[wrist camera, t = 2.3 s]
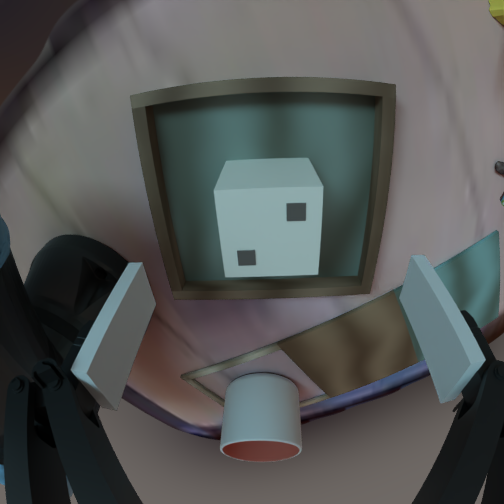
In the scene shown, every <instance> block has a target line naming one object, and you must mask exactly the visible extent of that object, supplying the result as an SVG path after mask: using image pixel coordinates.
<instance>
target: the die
mask: <svg viewBox="0 0 504 504" xmlns="http://www.w3.org/2000/svg"><path fill="white" fill-rule="evenodd" d="M214 198H215V206H216V214H217V221H218V229H219V236H220V244H221V251H222V258H223V265H224V272H225V277H263V276H294V275H318V268H319V256H320V242H321V226H322V208H323V185H322V183H321V181H320V179H319V177H318V175H317V173H316V171H315V169H314V167H313V166H312V164H311V162H310V160H309V158H272V159H248V160H231V161H226V162H225V165H224V167H223V169H222V172H221V174H220V176H219V179H218V181H217V184H216V186H215V188H214Z"/></svg>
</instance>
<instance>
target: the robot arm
mask: <svg viewBox="0 0 504 504" xmlns="http://www.w3.org/2000/svg"><path fill="white" fill-rule="evenodd" d="M399 299H400V301H401V303H402V305H403V307H404V310H405V312H406V314H407V316H408V319H409V321H410V323H411V326H412V328H413V330H414V333H415V335H416V338H417V340H418V343H419V345H420V348H421V350H422V353H423V355H424V358H425V360H426V363H427V366H428V368H429V371H430V374H431V377H432V380H433V382H434V385H435V388H436V391H437V394H438V397H439V400H440V403H444V402H448V401H451V400H455V399H456V397H457V396H458V395H459V394H460V393H461V392H462V395H463V399H462V400H461V401H460V402H459V403H458V404H457V406H456V407H455V408H454V409H453V412H455V411H456V410H457V409H458V410H457V413H456V415H455V418H454V421H453V423H452V426H451V428H450V431H449V433H448V435H447V438H446V440H445V442H444V444H443V446H442V449H441V451H440V453H439V455H438V457H437V459H436V461H435V463H434V465H433V467H432V469H431V471H430V473H429V475H428V476H427V478H426V480H425V482H424V484H423V486H422V487H421V489H420V491H419V493H418V494H417V496H416V498H415V499H414V501H413V502H412V504H475V501H476V499H477V497H478V495H479V492H480V490H481V488H482V486H483V483H484V481H485V478H486V476H487V479H486V484H485V489H484V494H483V498H482V502H481V504H504V362H503V361H499V360H496V359H495V357H494V355H493V353H492V351H491V349H490V347H489V345H488V343H487V341H486V339H485V337H484V336H483V335H482V332H481V330H480V328H478V325H477V323H476V321H475V320H474V318H473V317H472V316H471V315H470V314H469V313H468V312H467V311H466V310H462V311H460V310H459V309H458V307H457V305H456V304H455V302H454V300H453V299H452V297H451V295H450V294H449V292H448V290H447V289H446V287H445V286H444V284H443V282H442V281H441V279H440V278H439V276H438V275H437V273H436V272H435V270H434V269H433V267H432V266H431V264H430V263H429V261H428V260H427V258H426V257H425V255H411V259H410V263H409V267H408V270H407V274H406V277H405V281H404V284H403V287H402V291H401V294H400V297H399ZM155 306H156V302H155V299H154V296H153V293H152V290H151V287H150V284H149V281H148V278H147V275H146V272H145V269H144V266H143V263H142V262H140V263H128V262H127V261H126V260H124V259H123V258H122V257H121V256H120V255H119V254H117V253H116V252H115V251H113V250H112V249H110V248H109V247H107V246H105V245H104V244H102V243H100V242H98V241H96V240H93V239H90V238H87V237H84V236H79V235H62V236H58V237H55V238H53V239H52V240H50V241H49V242H48V243H47V244H46V245H45V246H44V247H43V248H42V249H41V250H40V251H39V252H38V253H37V255H36V256H35V258H34V259H33V261H32V264H31V267H30V271H29V273H28V276H27V278H26V281H25V283H24V284H23V282H22V279H21V277H20V274H19V271H18V269H17V266H16V263H15V260H14V257H13V254H12V252H11V248H10V235H9V230H8V227H7V225H6V223H5V222H4V220H3V219H2V218H1V215H0V483H1V484H3V485H5V491H6V500H7V504H71V502H70V497H71V496H72V494H73V493H74V495H75V498H76V500H77V502H78V504H143V503H142V501H141V500H140V498H139V496H138V495H137V493H136V491H135V490H134V488H133V486H132V485H131V483H130V481H129V479H128V478H127V475H126V474H125V472H124V470H123V468H122V466H121V464H120V462H119V460H118V459H117V456H116V454H115V452H114V450H113V448H112V446H111V444H110V442H109V439H108V437H107V435H106V433H105V430H104V428H103V426H102V423H101V421H100V419H99V416H98V411H99V408H100V406H101V407H103V408H107V409H112V410H116V411H117V409H118V406H119V403H120V400H121V397H122V394H123V391H124V388H125V385H126V382H127V380H128V377H129V374H130V371H131V368H132V366H133V363H134V360H135V357H136V355H137V352H138V349H139V347H140V344H141V341H142V339H143V336H144V335H145V332H146V330H147V327H148V324H149V322H150V319H151V316H152V313H153V311H154V308H155Z"/></svg>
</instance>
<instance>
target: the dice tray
mask: <svg viewBox="0 0 504 504" xmlns="http://www.w3.org/2000/svg"><path fill="white" fill-rule="evenodd" d="M130 98H131V106H132V113H133V120H134V126H135V132H136V138H137V144H138V150H139V156H140V161H141V166H142V171H143V176H144V181H145V186H146V191H147V196H148V200H149V205H150V209H151V214H152V218H153V222H154V226H155V231H156V235H157V239H158V243H159V247H160V250H161V254H162V258H163V262H164V266H165V269H166V273H167V276H168V280H169V283H170V287H171V290H172V294H173V297H174V299H176V300H216V299H270V298H299V297H321V296H340V295H356V294H370V290H371V286H372V281H373V277H374V272H375V268H376V263H377V258H378V253H379V248H380V242H381V237H382V231H383V225H384V219H385V213H386V206H387V199H388V191H389V183H390V175H391V165H392V155H393V143H394V128H395V106H396V85H395V84H388V83H381V82H372V81H363V80H352V79H338V78H318V77H268V78H248V79H234V80H223V81H213V82H204V83H197V84H189V85H183V86H176V87H170V88H165V89H159V90H154V91H149V92H144V93H140V94H135V95H131V96H130ZM272 158H309V160H310V162H311V164H312V166H313V167H314V169H315V171H316V173H317V175H318V177H319V179H320V181H321V183H322V185H323V208H322V226H321V242H320V256H319V268H318V275H294V276H263V277H225V272H224V265H223V258H222V251H221V244H220V236H219V229H218V221H217V214H216V206H215V198H214V188H215V186H216V184H217V181H218V179H219V176H220V174H221V172H222V169H223V167H224V165H225V162H226V161H231V160H248V159H272Z"/></svg>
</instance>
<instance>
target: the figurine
mask: <svg viewBox="0 0 504 504" xmlns="http://www.w3.org/2000/svg"><path fill="white" fill-rule="evenodd" d="M489 3H490V9H489V11H490V13H491V14H492V16H493V17H494V18H496V19H497V20H498V21H499V22H500V23H501V24H502V25H504V0H489Z"/></svg>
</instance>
